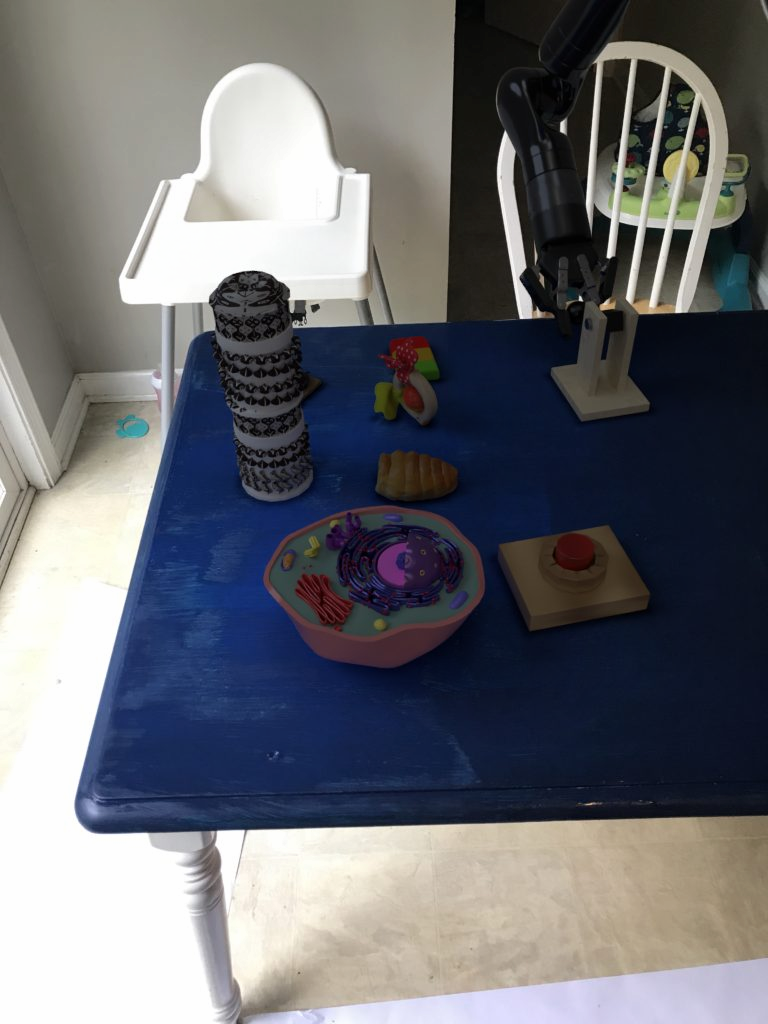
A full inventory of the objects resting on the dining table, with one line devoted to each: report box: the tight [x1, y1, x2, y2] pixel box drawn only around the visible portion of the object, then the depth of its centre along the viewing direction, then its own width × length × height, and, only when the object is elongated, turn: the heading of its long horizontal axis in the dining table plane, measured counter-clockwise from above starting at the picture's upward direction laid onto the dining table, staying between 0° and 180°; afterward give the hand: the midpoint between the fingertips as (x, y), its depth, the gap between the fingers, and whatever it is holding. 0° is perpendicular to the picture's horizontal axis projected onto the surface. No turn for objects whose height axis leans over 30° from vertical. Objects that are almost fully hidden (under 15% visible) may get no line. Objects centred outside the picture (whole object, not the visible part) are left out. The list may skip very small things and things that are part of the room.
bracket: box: [550, 296, 651, 422], centre depth 104 cm, size 11×9×12 cm
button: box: [555, 533, 595, 571], centre depth 81 cm, size 4×4×2 cm
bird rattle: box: [373, 338, 439, 427], centre depth 103 cm, size 6×11×9 cm
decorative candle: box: [208, 270, 314, 503], centre depth 90 cm, size 9×9×25 cm
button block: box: [497, 524, 651, 632], centre depth 83 cm, size 12×10×4 cm
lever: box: [566, 300, 623, 334], centre depth 106 cm, size 13×3×3 cm, turn 12°
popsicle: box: [389, 335, 440, 382], centre depth 112 cm, size 6×15×2 cm, turn 9°
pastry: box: [374, 449, 459, 502], centre depth 95 cm, size 9×7×4 cm
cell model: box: [262, 505, 486, 669], centre depth 77 cm, size 17×20×11 cm
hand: (581, 336), depth 111 cm, fingers closed on lever, 3 cm apart
